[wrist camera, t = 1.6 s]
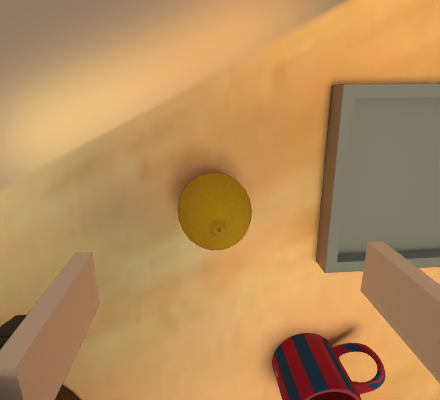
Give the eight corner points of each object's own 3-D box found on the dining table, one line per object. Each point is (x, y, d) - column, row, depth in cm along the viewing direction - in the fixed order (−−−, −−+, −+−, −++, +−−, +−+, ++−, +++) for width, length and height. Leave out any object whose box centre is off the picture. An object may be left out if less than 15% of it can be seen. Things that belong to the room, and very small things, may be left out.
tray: (316, 261, 31) (325, 272, 29) (331, 85, 26) (343, 84, 24) (508, 251, 33) (529, 262, 31) (555, 84, 28) (585, 83, 26)
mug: (262, 349, 34) (278, 409, 27) (349, 309, 33) (387, 360, 27) (286, 392, 36) (307, 456, 29) (368, 354, 35) (408, 412, 29)
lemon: (233, 229, 29) (248, 275, 22) (173, 217, 29) (167, 260, 21) (250, 172, 28) (271, 199, 20) (187, 157, 27) (185, 180, 19)
